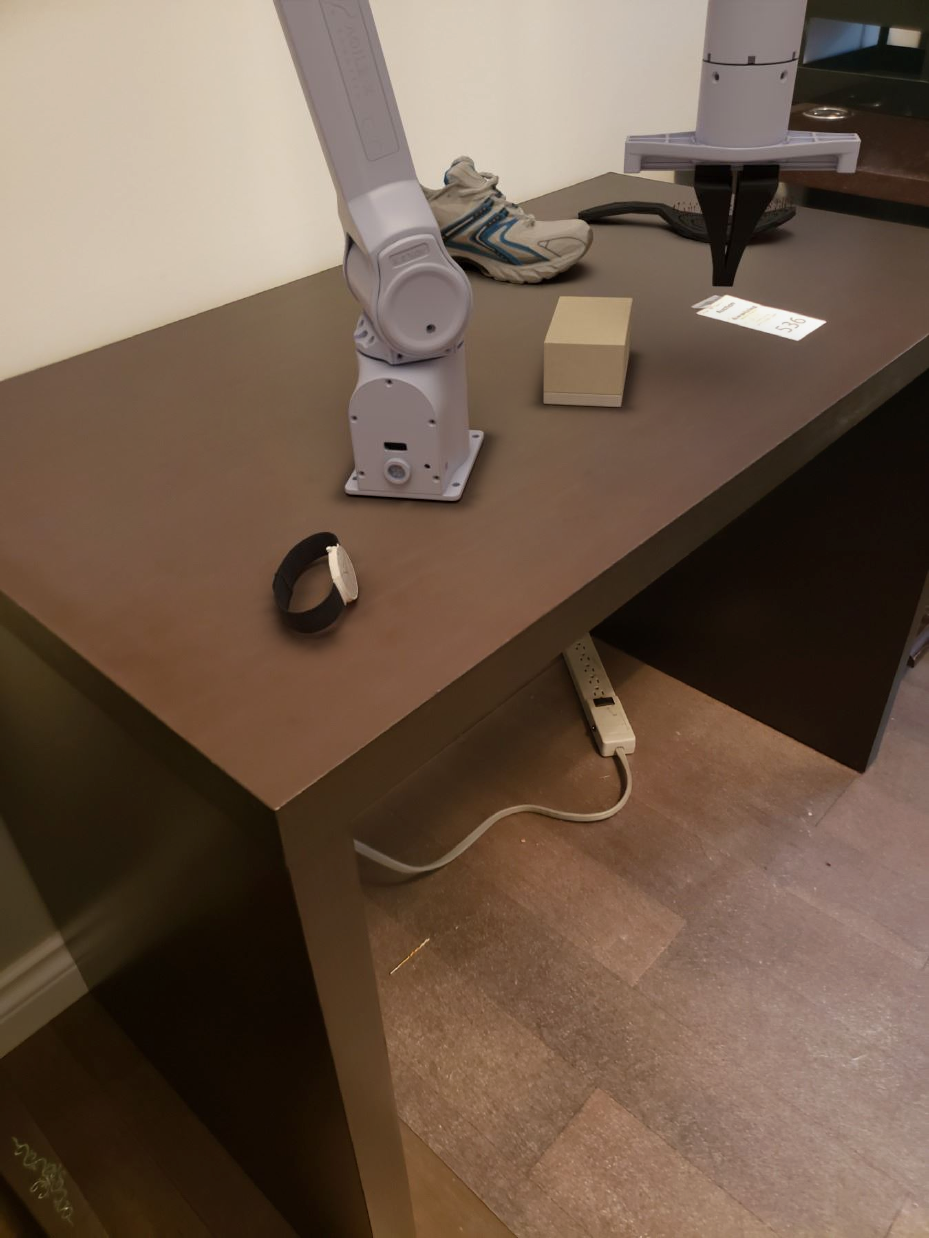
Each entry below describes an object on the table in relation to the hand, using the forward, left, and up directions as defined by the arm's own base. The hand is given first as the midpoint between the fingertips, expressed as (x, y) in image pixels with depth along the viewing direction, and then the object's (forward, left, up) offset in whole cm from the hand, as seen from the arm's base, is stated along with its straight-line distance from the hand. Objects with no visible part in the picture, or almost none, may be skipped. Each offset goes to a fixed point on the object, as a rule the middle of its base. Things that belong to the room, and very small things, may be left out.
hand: (722, 282), depth 66 cm
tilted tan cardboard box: (+4, +6, -7) cm, 10 cm away
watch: (-28, +22, -10) cm, 37 cm away
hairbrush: (+46, +3, -10) cm, 47 cm away
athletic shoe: (+31, +23, -10) cm, 40 cm away
